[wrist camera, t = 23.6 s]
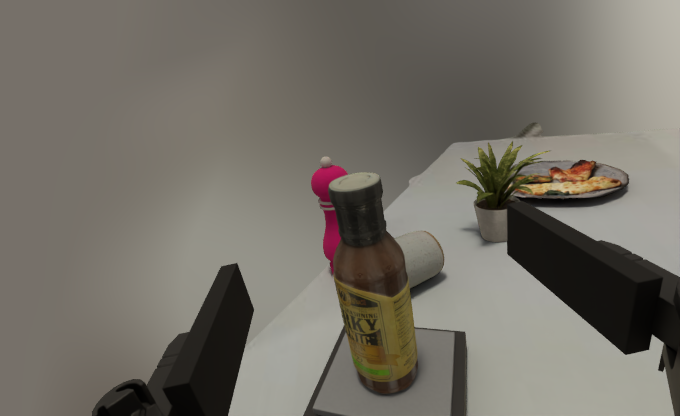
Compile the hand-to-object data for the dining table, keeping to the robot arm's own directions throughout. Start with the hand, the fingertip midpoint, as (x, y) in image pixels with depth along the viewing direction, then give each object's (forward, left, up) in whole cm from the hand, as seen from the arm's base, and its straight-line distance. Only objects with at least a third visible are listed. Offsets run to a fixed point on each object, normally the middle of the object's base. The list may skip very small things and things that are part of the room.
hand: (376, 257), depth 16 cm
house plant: (+8, +41, -22) cm, 48 cm away
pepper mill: (-16, +31, -22) cm, 42 cm away
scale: (-4, +9, -22) cm, 24 cm away
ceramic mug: (-6, +29, -22) cm, 37 cm away
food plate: (+20, +64, -22) cm, 71 cm away
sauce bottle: (-4, +9, -19) cm, 22 cm away
